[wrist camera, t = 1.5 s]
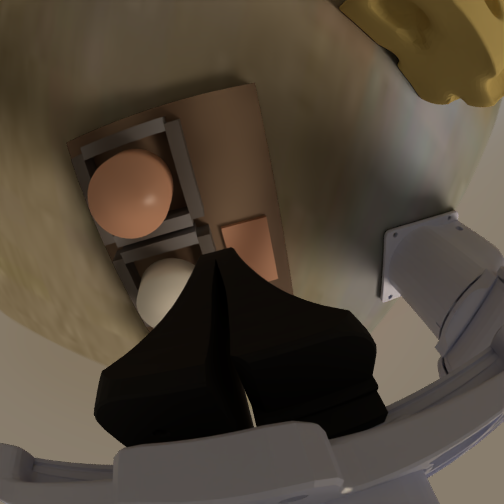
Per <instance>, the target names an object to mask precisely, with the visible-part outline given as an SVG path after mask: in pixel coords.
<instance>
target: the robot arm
mask: <svg viewBox="0 0 504 504" xmlns="http://www.w3.org/2000/svg"><path fill="white" fill-rule="evenodd" d="M394 233H395V235H394V236H393V234H394ZM400 296H402V297H403V298H404V299H405V301H406V302H407V303H408V304H409V305H410V306H411V307H412V308H413V310H414V311H415V312H416V313H417V314H418V316H419V317H420V318H421V319H422V320H423V321H424V322H425V324H426V325H427V326H428V327H429V329H430V330H431V331H432V332H433V333H434V335H435V336H436V337H437V338H438V340H439V342H438V343H437V345H436V346H435V348H436V349H437V351H438V352H439V353H440V355H441V357H440V358H439V360H438V372H439V377H440V379H438V380H437V381H435V382H433V383H431V384H430V385H428V386H426V387H424V388H422V389H421V390H419V391H417V392H415V393H413V394H411V395H409V396H407V397H405V398H403V399H401V400H399V401H397V402H395V403H393V404H391V405H389V406H386V407H385V405H384V403H383V401H382V399H381V398H380V396H379V394H378V392H377V390H378V384H377V383H376V381H375V379H374V378H373V370H374V364H375V358H376V344H375V342H374V340H373V338H372V337H371V335H370V333H369V332H368V331H367V329H366V328H365V327H364V326H363V325H362V324H361V322H360V321H359V320H358V319H357V318H356V317H355V316H354V315H353V314H352V313H351V312H350V311H349V310H344V309H338V308H333V307H328V306H323V305H320V304H316V303H313V302H310V301H307V300H304V299H301V298H299V297H296V296H294V295H291V294H289V293H287V292H285V291H283V290H281V289H279V288H278V287H276V286H274V285H273V284H271V283H270V282H268V281H267V280H265V279H264V278H263V277H261V276H260V275H259V274H257V273H256V272H255V271H254V270H253V269H252V268H251V267H249V266H248V265H247V264H246V263H245V262H244V261H243V260H242V259H241V257H240V256H239V255H238V254H237V252H236V251H235V249H234V248H232V247H229V248H226V249H222V250H218V251H214V252H211V253H207V254H203V255H200V257H199V259H198V261H197V263H196V265H195V267H194V269H193V271H192V273H191V275H190V277H189V279H188V281H187V283H186V285H185V287H184V289H183V290H182V292H181V293H180V295H179V297H178V298H177V300H176V302H175V303H174V305H173V306H172V307H171V309H170V310H169V311H168V312H167V314H166V315H165V316H164V318H163V319H162V320H161V321H160V322H159V323H158V324H157V325H156V326H155V327H154V329H153V330H152V331H151V332H150V333H149V334H148V335H147V336H146V337H145V338H144V339H143V340H142V341H141V342H140V343H138V344H137V345H136V346H135V347H134V348H133V349H131V350H130V351H129V352H128V353H127V354H125V355H124V356H123V357H121V358H120V359H119V360H117V361H116V362H114V363H113V364H112V365H110V366H109V367H107V368H106V369H105V370H103V371H102V373H101V376H100V381H99V385H98V390H97V396H96V402H95V408H94V416H95V418H96V420H97V422H98V423H99V424H100V425H101V426H102V427H103V428H104V429H105V430H106V431H107V432H108V433H110V434H111V435H112V436H113V437H114V438H116V439H117V440H118V441H120V442H121V443H122V444H123V445H125V446H126V448H123V449H121V450H119V451H118V453H117V454H116V455H115V457H114V463H113V465H96V464H82V463H70V462H61V461H53V460H45V459H40V458H34V457H33V456H32V455H31V454H29V453H28V452H27V451H25V450H23V449H22V448H20V447H17V446H14V445H9V444H4V443H0V501H1V502H3V503H5V504H439V502H438V499H437V497H436V495H435V493H434V491H433V489H432V487H431V485H430V483H429V481H428V479H427V478H428V477H430V476H432V475H433V474H435V473H437V472H438V471H440V470H441V469H443V468H444V467H446V466H447V465H449V464H450V463H452V462H453V461H454V460H456V459H457V458H459V457H460V456H462V455H463V454H464V453H466V452H467V451H468V450H470V449H471V448H472V447H474V446H475V445H476V444H478V443H479V442H480V441H481V440H483V439H484V438H485V437H486V436H487V435H489V434H490V433H491V432H492V431H493V430H494V429H496V428H497V427H498V426H499V425H500V424H501V423H502V422H504V258H503V256H502V254H501V253H500V251H499V250H498V249H497V248H496V247H495V246H494V245H493V244H492V243H490V242H489V241H487V240H486V239H485V238H483V237H482V236H480V235H479V234H477V233H476V232H474V231H472V230H471V229H470V228H468V227H467V226H465V225H464V224H462V223H460V222H459V221H458V212H457V211H455V210H454V211H450V212H447V213H444V214H440V215H437V216H434V217H430V218H427V219H424V220H420V221H417V222H413V223H410V224H407V225H403V226H400V227H396V228H393V229H389V230H387V231H386V232H385V235H384V255H383V272H382V286H381V297H380V299H381V300H382V302H387V301H389V300H392V299H395V298H397V297H400ZM244 389H245V390H244ZM245 392H246V394H247V396H248V399H249V401H250V403H251V405H252V409H253V414H254V418H255V422H256V426H257V427H254V426H253V422H252V418H251V415H250V410H249V406H248V402H247V398H246V394H245Z"/></svg>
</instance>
